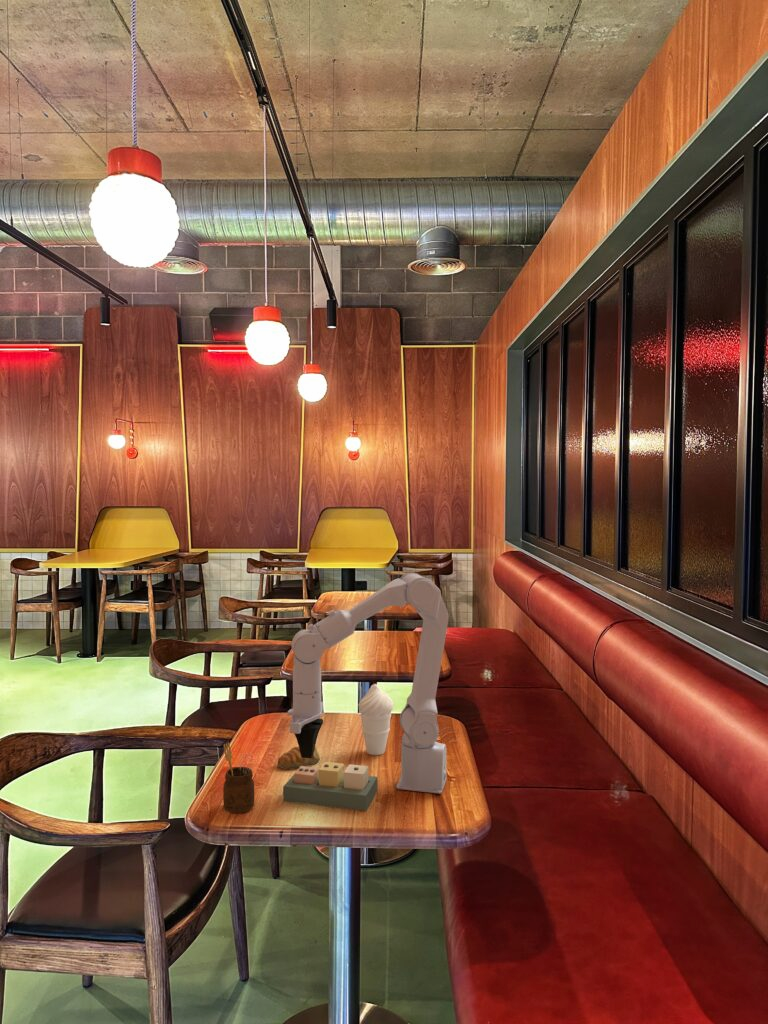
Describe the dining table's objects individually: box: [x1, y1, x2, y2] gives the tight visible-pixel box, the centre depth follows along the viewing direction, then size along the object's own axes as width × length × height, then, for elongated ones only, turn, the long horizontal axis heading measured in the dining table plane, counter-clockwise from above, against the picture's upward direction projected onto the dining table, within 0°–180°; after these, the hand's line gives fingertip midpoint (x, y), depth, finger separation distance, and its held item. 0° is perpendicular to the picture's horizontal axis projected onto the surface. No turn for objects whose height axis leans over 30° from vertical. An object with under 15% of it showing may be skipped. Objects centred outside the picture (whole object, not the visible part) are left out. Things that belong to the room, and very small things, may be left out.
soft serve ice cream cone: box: [358, 683, 395, 756], centre depth 162 cm, size 8×8×16 cm
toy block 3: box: [344, 764, 369, 790], centre depth 137 cm, size 4×4×5 cm
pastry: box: [276, 745, 321, 770], centre depth 155 cm, size 9×7×4 cm
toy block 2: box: [319, 761, 345, 787], centre depth 139 cm, size 4×4×5 cm
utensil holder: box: [222, 741, 255, 814], centre depth 133 cm, size 6×6×12 cm
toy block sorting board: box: [282, 774, 379, 812], centre depth 139 cm, size 17×9×3 cm, turn 77°
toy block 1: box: [293, 766, 320, 785], centre depth 140 cm, size 4×4×5 cm
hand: (307, 756), depth 140 cm, fingers closed
